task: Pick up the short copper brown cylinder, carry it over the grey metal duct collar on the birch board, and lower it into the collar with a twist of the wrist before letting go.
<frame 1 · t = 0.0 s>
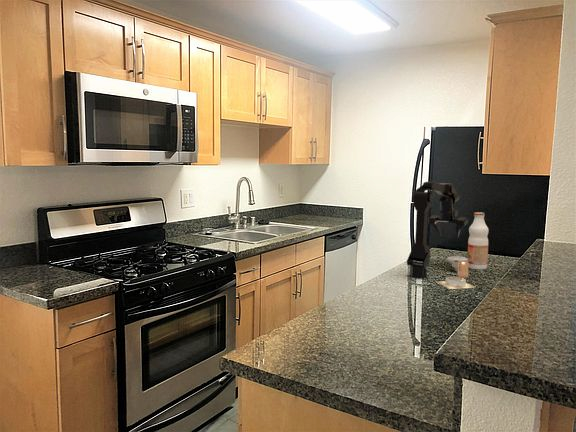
hand: (448, 236, 236), 15 cm above the worktop, tool pointing down, fingers open, 9 cm apart
copper brown cylinder: (462, 279, 211), on the worktop
duct collar: (455, 284, 198), resting on board
fruit juice: (477, 268, 234), on the worktop
board: (455, 286, 198), on the worktop
showerhead: (457, 270, 228), on the worktop
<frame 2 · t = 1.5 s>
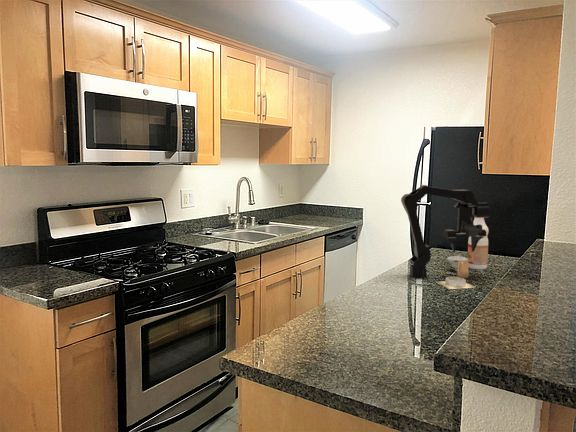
hand: (463, 251, 210), 13 cm above the worktop, tool pointing down, fingers open, 9 cm apart
nothing on the worktop moved.
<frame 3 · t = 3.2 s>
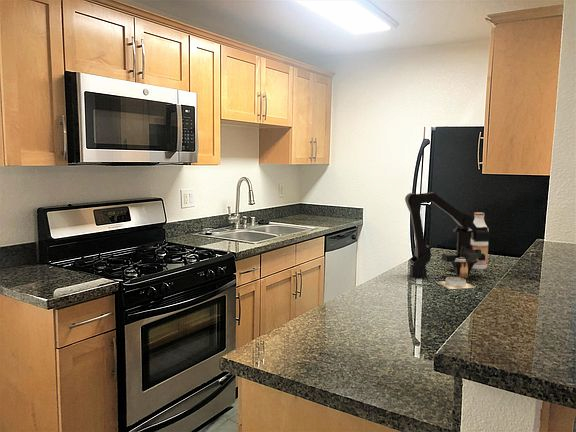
hand: (462, 275, 211), 2 cm above the worktop, tool pointing down, fingers closed on copper brown cylinder, 4 cm apart
copper brown cylinder: (462, 279, 211), on the worktop, touching gripper
everything else where it was.
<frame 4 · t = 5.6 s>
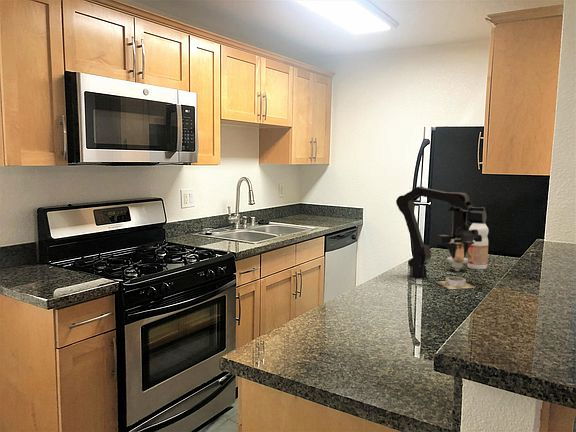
hand: (458, 257, 200), 12 cm above the worktop, tool pointing down, fingers closed on copper brown cylinder, 4 cm apart
copper brown cylinder: (458, 261, 200), point 10 cm above the worktop, touching gripper
everything else where it was.
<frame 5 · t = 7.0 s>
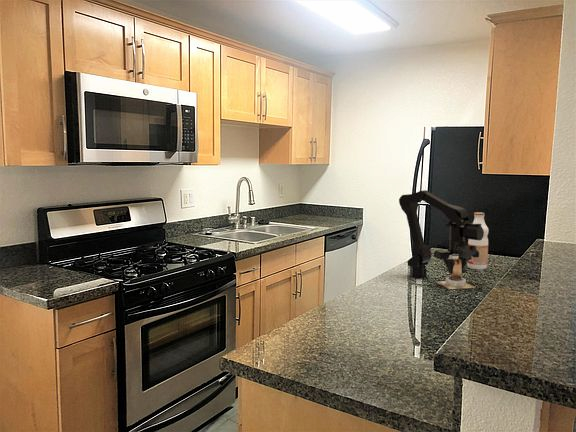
hand: (455, 273, 197), 6 cm above the worktop, tool pointing down, fingers closed on copper brown cylinder, 4 cm apart
copper brown cylinder: (455, 277, 197), point 4 cm above the worktop, touching gripper
everything else where it was.
when the fingers open (4 cm above the worktop, at t = 8.1 s): copper brown cylinder drops 2 cm, resting on board.
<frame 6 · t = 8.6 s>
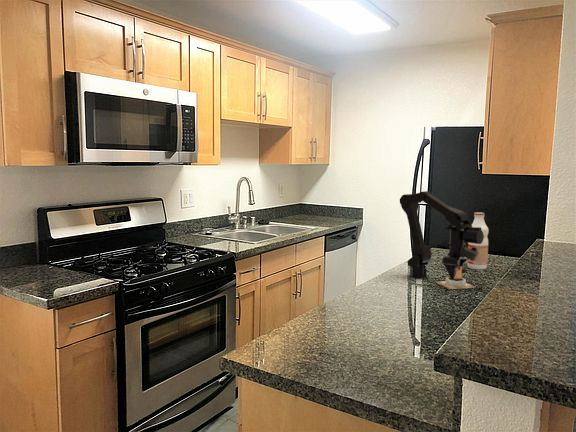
hand: (455, 277, 198), 4 cm above the worktop, tool pointing down, fingers open, 9 cm apart
copper brown cylinder: (455, 284, 198), point 1 cm above the worktop, touching board
everything else where it was.
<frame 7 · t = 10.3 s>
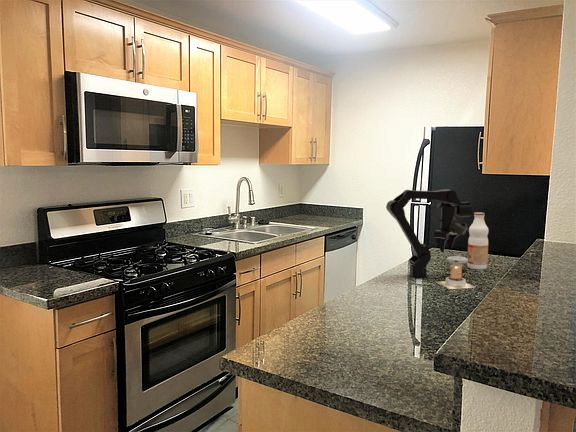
hand: (446, 250, 212), 13 cm above the worktop, tool pointing down, fingers open, 9 cm apart
nothing on the worktop moved.
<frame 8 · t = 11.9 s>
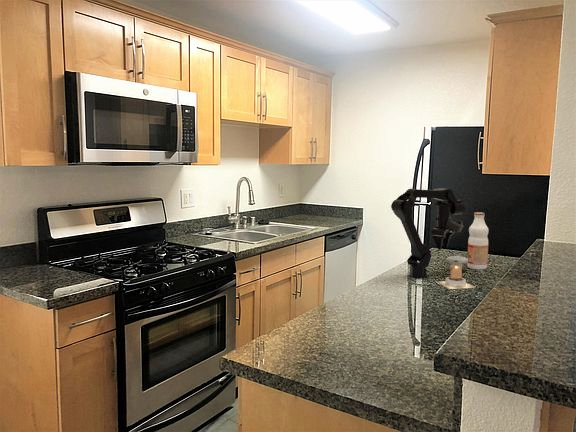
hand: (442, 248, 217), 13 cm above the worktop, tool pointing down, fingers open, 9 cm apart
nothing on the worktop moved.
at the end: copper brown cylinder 0.0 cm off-centre on the duct collar, point 0.0 cm above the duct collar's base; copper brown cylinder tilted 1°; the gripper is holding nothing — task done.
